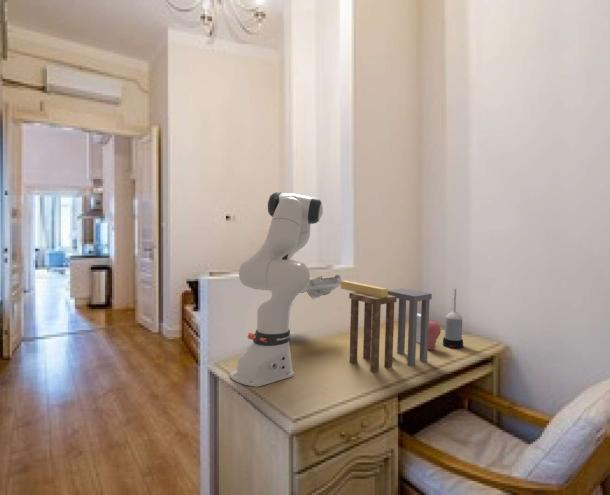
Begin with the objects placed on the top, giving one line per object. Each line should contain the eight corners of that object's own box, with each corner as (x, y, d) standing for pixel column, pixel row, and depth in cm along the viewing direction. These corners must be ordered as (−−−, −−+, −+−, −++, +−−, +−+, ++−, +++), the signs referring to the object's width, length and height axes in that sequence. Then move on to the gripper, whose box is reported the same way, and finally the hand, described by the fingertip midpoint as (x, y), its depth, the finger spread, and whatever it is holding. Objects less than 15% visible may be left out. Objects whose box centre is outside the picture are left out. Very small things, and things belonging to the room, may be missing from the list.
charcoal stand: (383, 355, 153) (385, 290, 151) (400, 351, 159) (402, 288, 157) (411, 367, 141) (414, 296, 140) (429, 361, 147) (431, 293, 146)
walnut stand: (347, 361, 146) (349, 292, 144) (366, 356, 152) (368, 290, 150) (374, 373, 135) (376, 299, 133) (394, 367, 140) (396, 296, 139)
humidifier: (449, 349, 163) (452, 290, 161) (439, 343, 171) (441, 286, 169) (467, 348, 164) (469, 289, 163) (455, 342, 172) (458, 286, 171)
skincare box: (426, 342, 172) (427, 315, 171) (420, 343, 170) (421, 316, 169) (415, 338, 177) (416, 312, 176) (409, 340, 175) (410, 313, 174)
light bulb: (440, 353, 157) (442, 324, 157) (422, 351, 159) (423, 322, 158) (438, 347, 164) (439, 319, 163) (421, 346, 166) (422, 318, 165)
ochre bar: (340, 288, 154) (340, 281, 154) (346, 287, 155) (346, 280, 155) (381, 297, 136) (382, 289, 136) (387, 297, 138) (388, 288, 137)
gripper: (291, 284, 167) (307, 271, 157) (328, 280, 179) (346, 268, 168) (295, 298, 165) (312, 286, 155) (332, 293, 177) (350, 281, 166)
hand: (330, 277), depth 162 cm, fingers open, 8 cm apart
